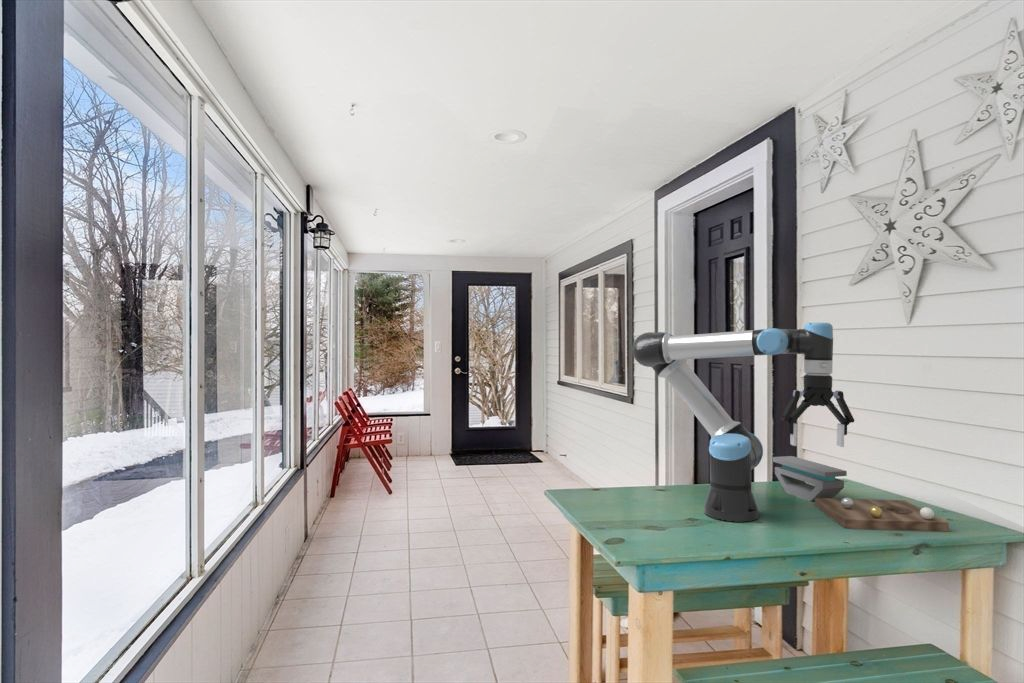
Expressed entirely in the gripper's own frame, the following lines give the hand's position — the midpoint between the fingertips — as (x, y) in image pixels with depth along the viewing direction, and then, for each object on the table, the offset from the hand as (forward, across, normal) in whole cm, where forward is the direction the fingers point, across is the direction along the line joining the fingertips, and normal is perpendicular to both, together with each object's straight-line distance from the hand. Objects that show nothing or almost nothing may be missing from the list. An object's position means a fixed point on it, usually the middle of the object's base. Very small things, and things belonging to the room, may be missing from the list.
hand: (816, 445), depth 171 cm
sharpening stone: (+21, +7, +21) cm, 30 cm away
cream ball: (+16, +24, -12) cm, 31 cm away
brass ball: (+16, +11, -11) cm, 22 cm away
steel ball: (+16, +8, -2) cm, 18 cm away
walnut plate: (+20, +16, -3) cm, 26 cm away
